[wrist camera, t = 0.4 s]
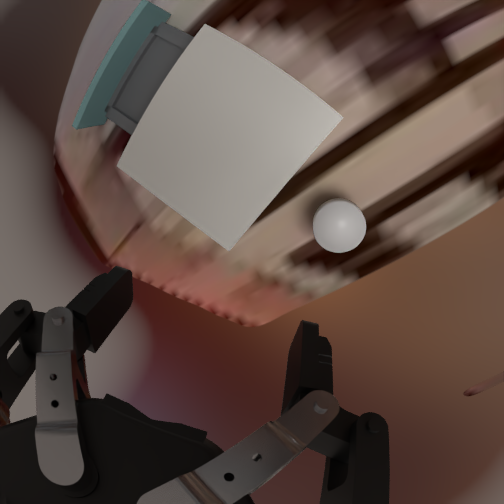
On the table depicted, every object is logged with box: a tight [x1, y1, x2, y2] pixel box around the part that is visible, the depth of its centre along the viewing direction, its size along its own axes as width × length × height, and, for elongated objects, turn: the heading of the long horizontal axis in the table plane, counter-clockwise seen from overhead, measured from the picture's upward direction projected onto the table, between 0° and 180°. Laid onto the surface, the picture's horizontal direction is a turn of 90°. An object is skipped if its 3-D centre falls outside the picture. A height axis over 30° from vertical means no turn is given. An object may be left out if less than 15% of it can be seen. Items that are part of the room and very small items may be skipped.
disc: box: [313, 198, 366, 253], centre depth 31 cm, size 6×6×2 cm
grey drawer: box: [72, 0, 194, 135], centre depth 27 cm, size 18×16×6 cm
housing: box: [117, 24, 344, 251], centre depth 29 cm, size 18×16×8 cm
